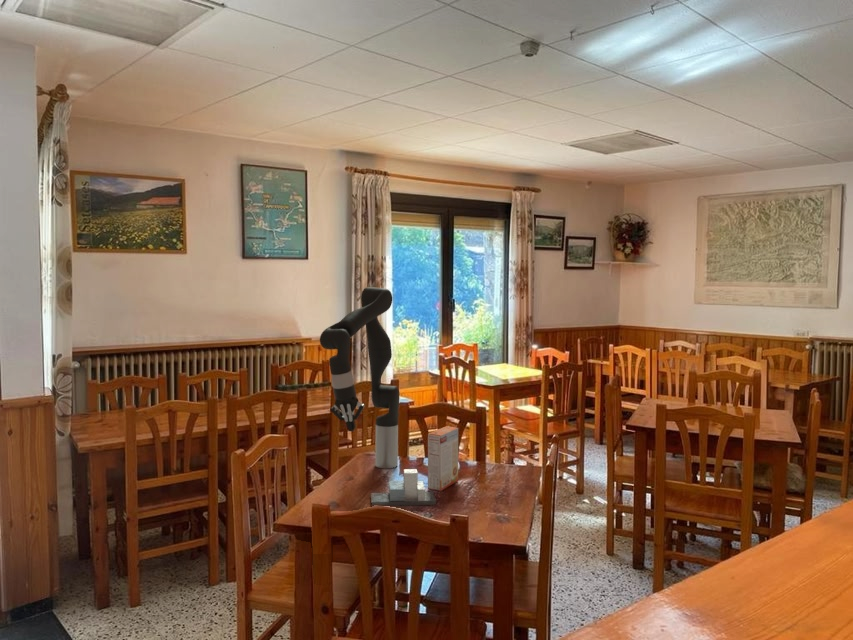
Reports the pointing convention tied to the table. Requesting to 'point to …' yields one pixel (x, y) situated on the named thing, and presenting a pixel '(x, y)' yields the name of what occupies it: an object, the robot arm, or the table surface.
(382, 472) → the table surface
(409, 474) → the steel block
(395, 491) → the sliding jaw
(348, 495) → the table surface
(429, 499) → the vise bed
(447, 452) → the cracker box
